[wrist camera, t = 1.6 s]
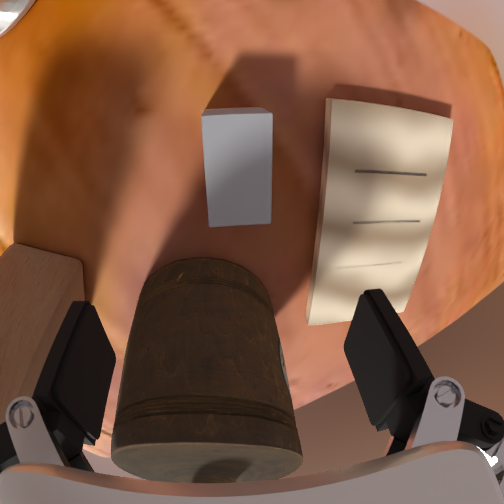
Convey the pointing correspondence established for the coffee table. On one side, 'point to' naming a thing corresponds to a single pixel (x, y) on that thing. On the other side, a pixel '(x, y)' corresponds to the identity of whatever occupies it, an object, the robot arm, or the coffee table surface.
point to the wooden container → (205, 381)
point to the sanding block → (238, 165)
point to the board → (374, 204)
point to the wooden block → (32, 314)
